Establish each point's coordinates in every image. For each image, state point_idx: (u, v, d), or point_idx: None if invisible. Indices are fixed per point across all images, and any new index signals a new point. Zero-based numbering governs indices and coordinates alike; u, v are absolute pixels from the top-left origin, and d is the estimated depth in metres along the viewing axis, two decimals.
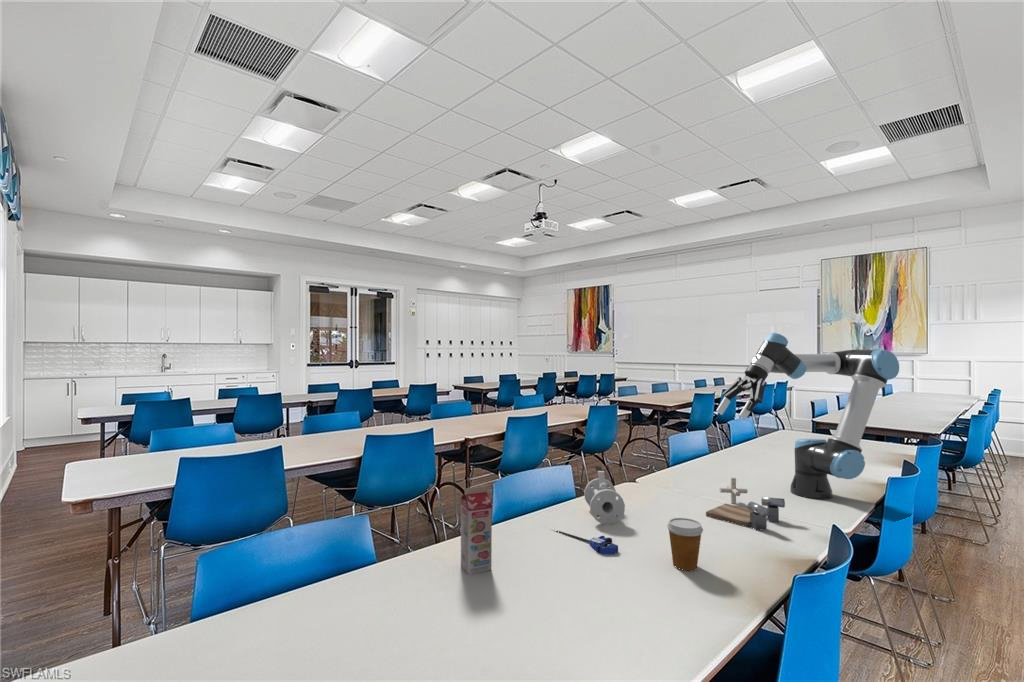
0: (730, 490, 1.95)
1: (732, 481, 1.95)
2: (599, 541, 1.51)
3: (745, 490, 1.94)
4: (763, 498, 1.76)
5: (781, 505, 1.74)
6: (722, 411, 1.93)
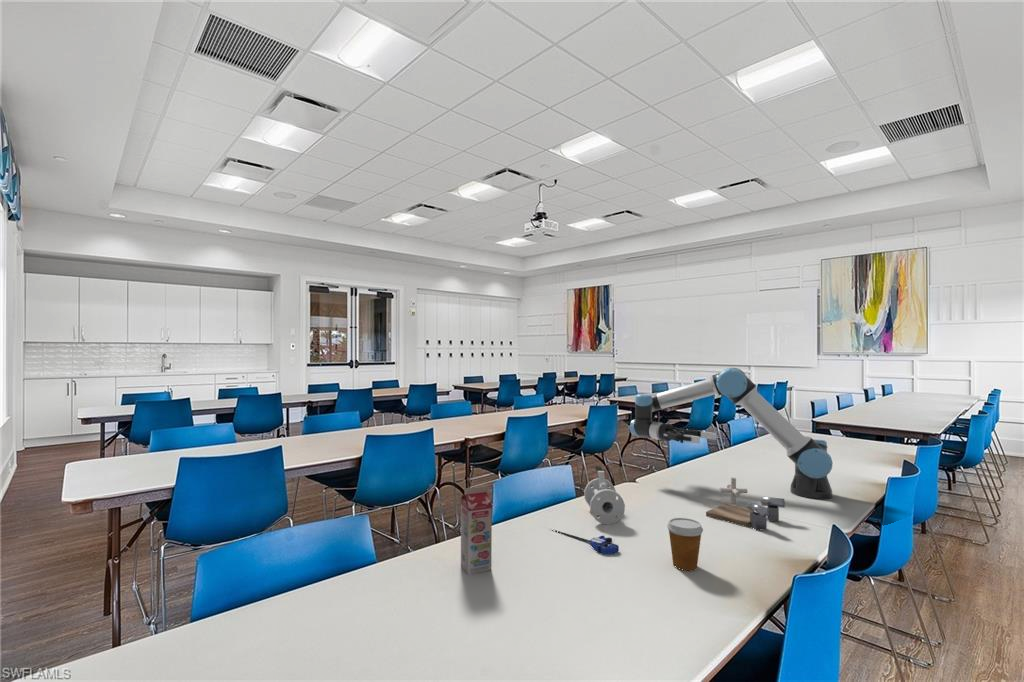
0: (730, 490, 1.95)
1: (732, 481, 1.95)
2: (599, 541, 1.51)
3: (745, 490, 1.94)
4: (763, 498, 1.76)
5: (781, 505, 1.74)
6: (712, 434, 2.09)
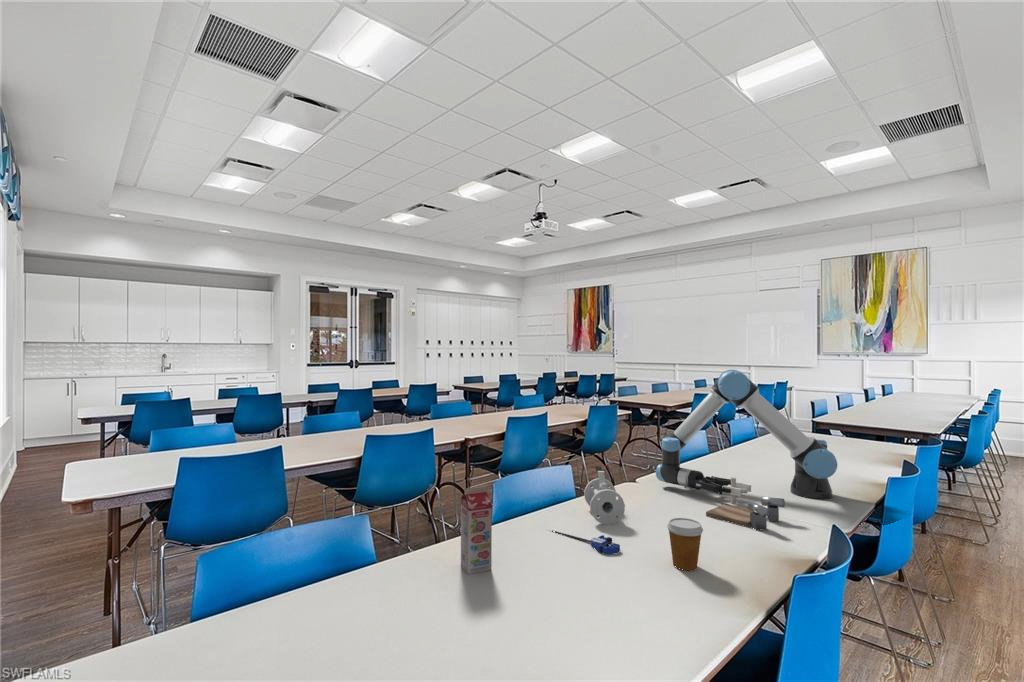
0: None
1: (732, 481, 1.95)
2: (600, 541, 1.51)
3: (745, 490, 1.94)
4: (763, 498, 1.76)
5: (781, 505, 1.74)
6: (747, 486, 1.96)
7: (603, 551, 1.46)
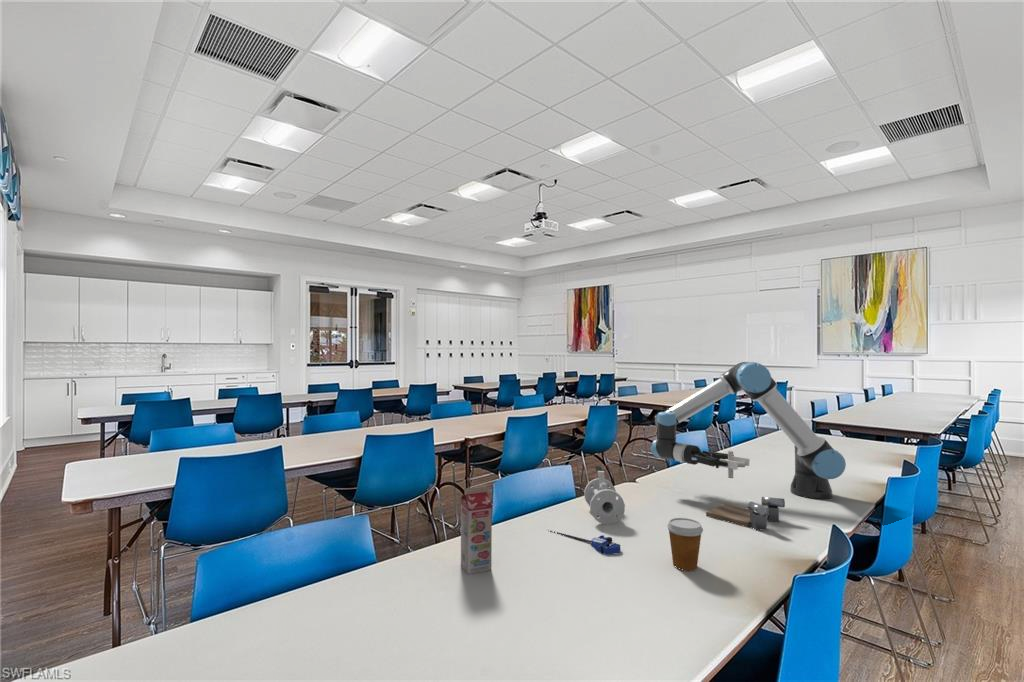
0: None
1: (729, 454, 1.87)
2: (601, 541, 1.51)
3: (743, 464, 1.86)
4: (763, 498, 1.76)
5: (781, 505, 1.74)
6: (745, 460, 1.87)
7: (604, 551, 1.46)
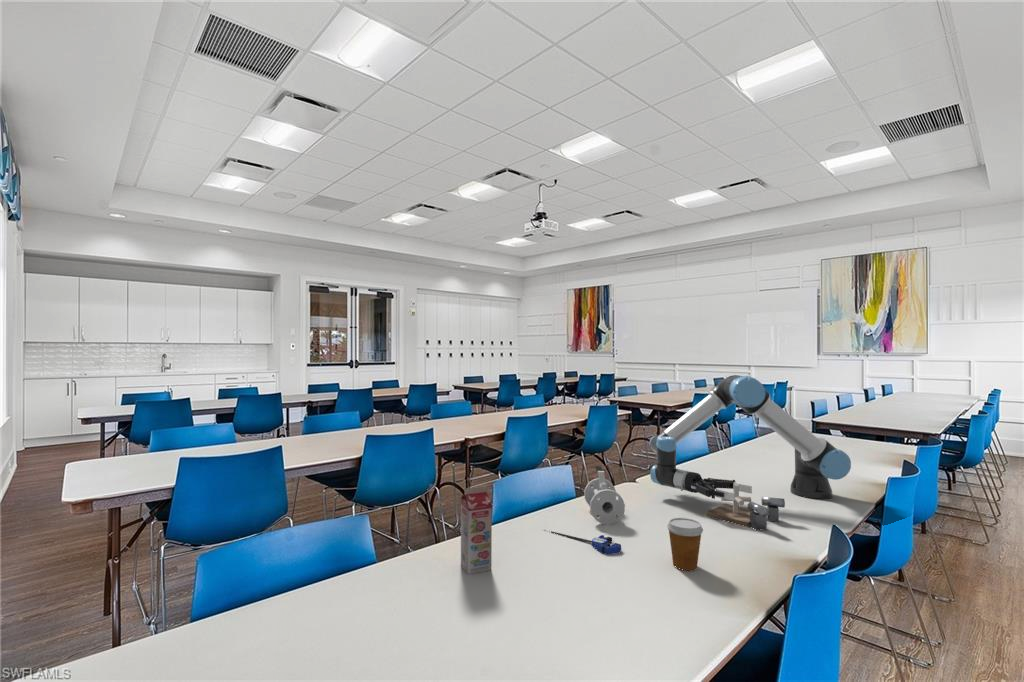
0: None
1: (735, 488, 1.79)
2: (601, 541, 1.51)
3: (749, 498, 1.79)
4: (763, 498, 1.76)
5: (781, 505, 1.74)
6: (747, 487, 1.83)
7: (605, 551, 1.47)
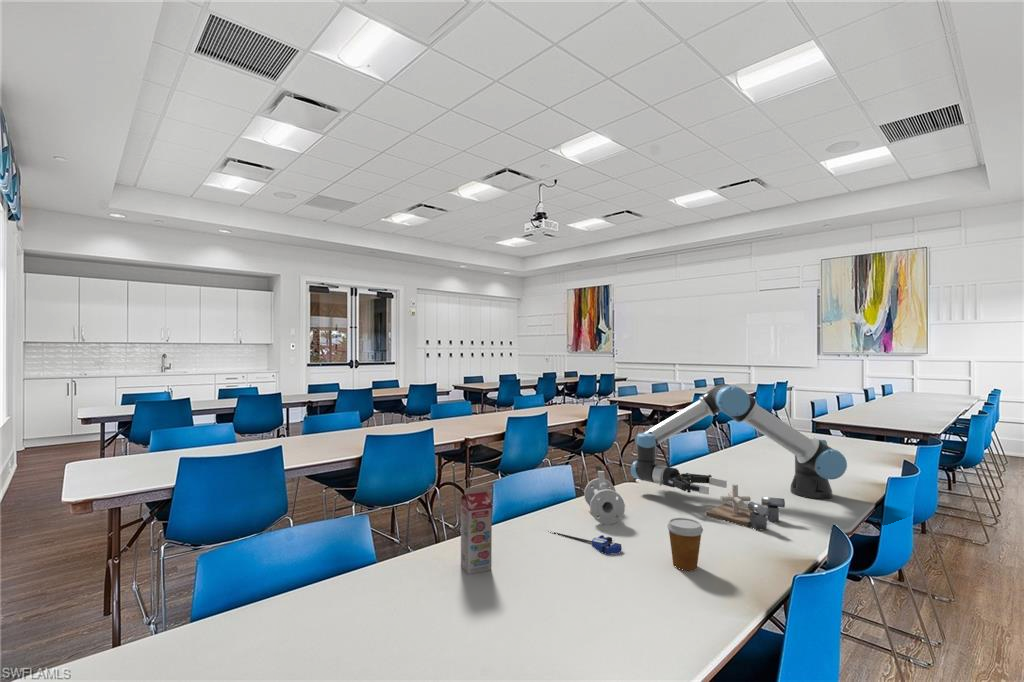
0: (732, 498, 1.79)
1: (734, 488, 1.79)
2: (601, 541, 1.51)
3: (748, 498, 1.79)
4: (763, 498, 1.76)
5: (781, 505, 1.74)
6: (722, 481, 1.90)
7: (605, 551, 1.47)
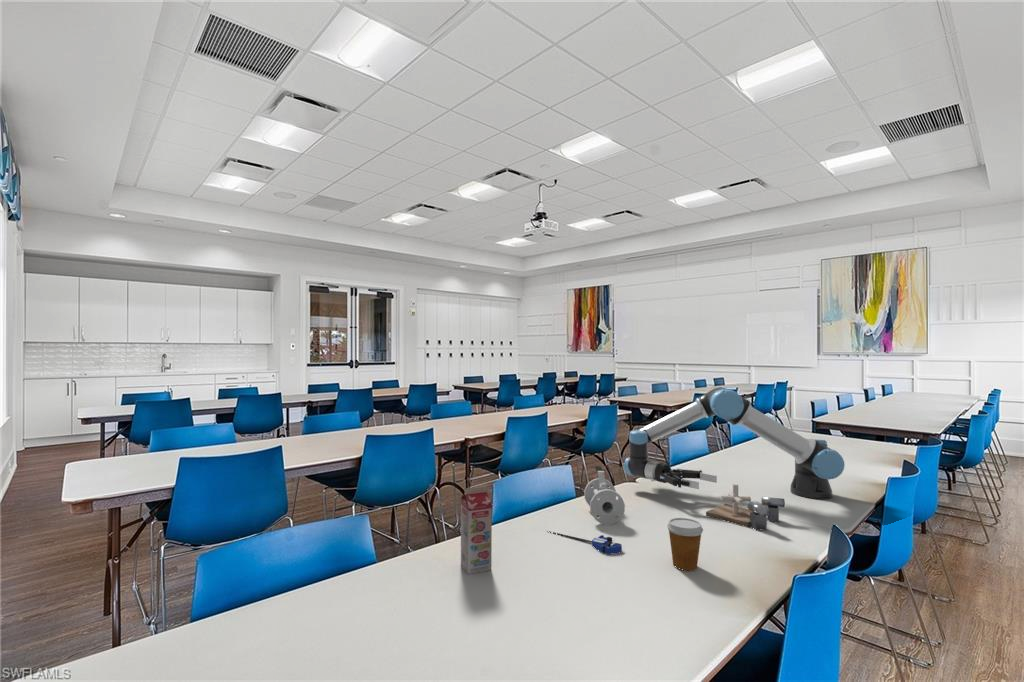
0: (732, 498, 1.79)
1: (734, 488, 1.79)
2: (602, 541, 1.51)
3: (748, 498, 1.79)
4: (763, 498, 1.76)
5: (781, 505, 1.74)
6: (712, 477, 1.94)
7: (606, 551, 1.47)
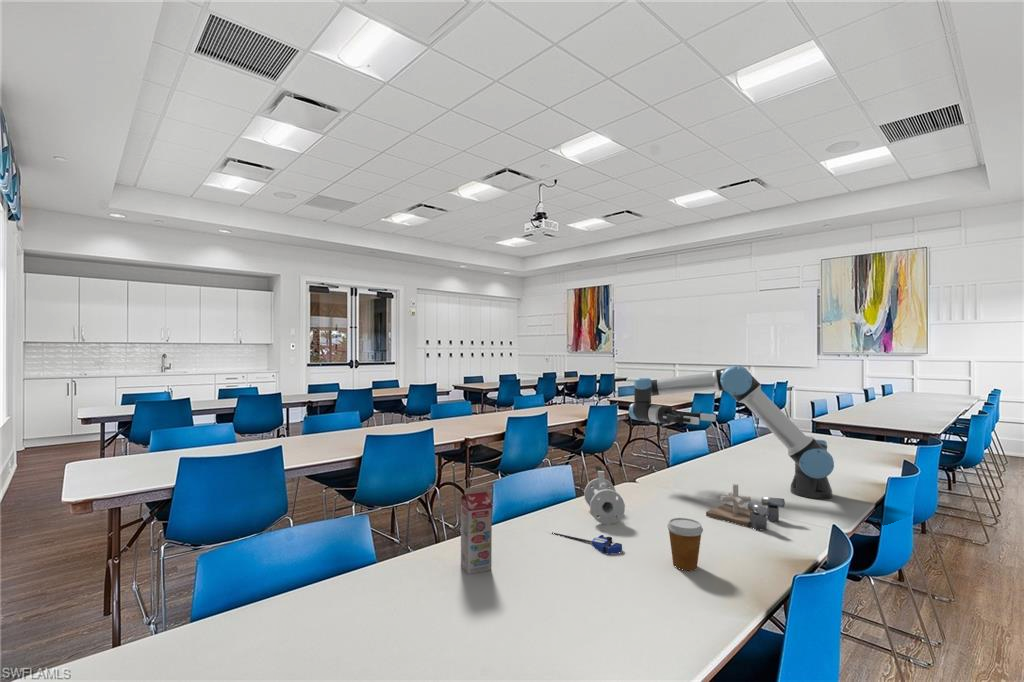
0: (732, 498, 1.79)
1: (734, 488, 1.79)
2: (602, 541, 1.51)
3: (748, 498, 1.79)
4: (763, 498, 1.76)
5: (781, 505, 1.74)
6: (712, 416, 2.07)
7: (606, 551, 1.47)
